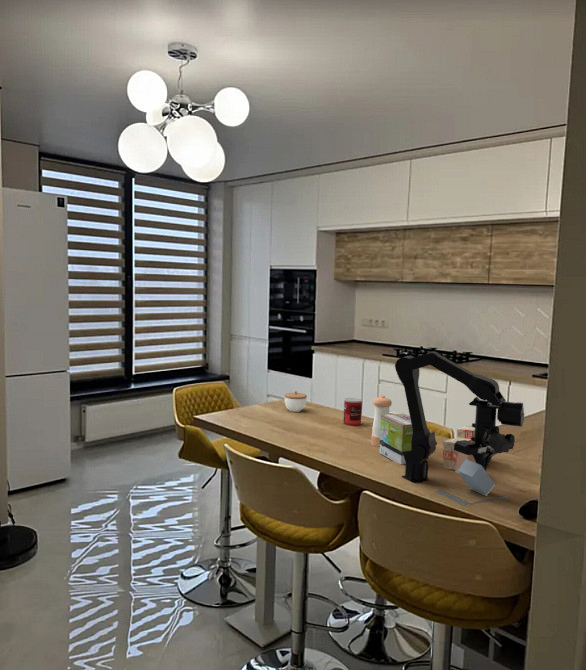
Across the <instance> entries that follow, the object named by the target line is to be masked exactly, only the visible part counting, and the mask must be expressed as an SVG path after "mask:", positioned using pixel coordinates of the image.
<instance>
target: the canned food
mask: <svg viewBox="0 0 586 670" xmlns="http://www.w3.org/2000/svg"><path fill="white" fill-rule="evenodd" d="M343 402H344V403H343V424H344V425H346V426H351V427H357V426H360V425H361V424H362V410H363V400H362V399H361V398H357V397H347V398H346V397H345V398H344V401H343Z"/></svg>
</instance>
